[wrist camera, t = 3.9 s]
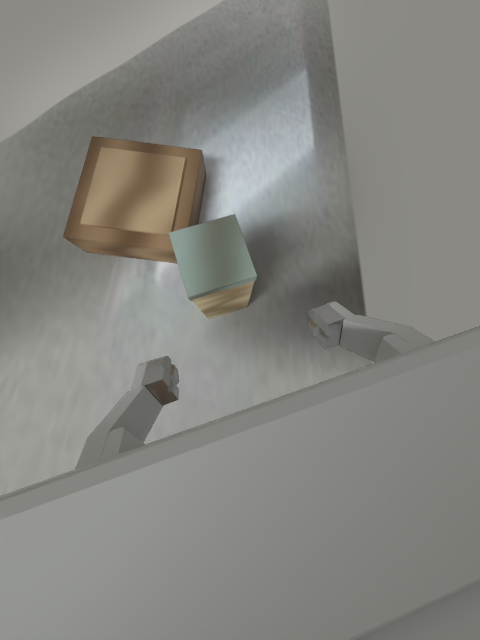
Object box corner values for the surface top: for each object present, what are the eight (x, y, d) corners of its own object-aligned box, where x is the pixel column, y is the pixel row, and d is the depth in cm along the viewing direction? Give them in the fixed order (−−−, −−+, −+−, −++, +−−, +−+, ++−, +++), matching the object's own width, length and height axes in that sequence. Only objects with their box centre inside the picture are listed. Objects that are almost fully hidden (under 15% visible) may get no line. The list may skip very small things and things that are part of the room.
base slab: (86, 252, 22) (60, 235, 18) (110, 163, 23) (90, 133, 20) (190, 264, 22) (183, 250, 18) (206, 175, 24) (201, 147, 20)
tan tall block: (208, 319, 21) (187, 297, 12) (196, 281, 21) (168, 232, 12) (247, 307, 21) (257, 275, 12) (235, 270, 22) (234, 214, 13)
